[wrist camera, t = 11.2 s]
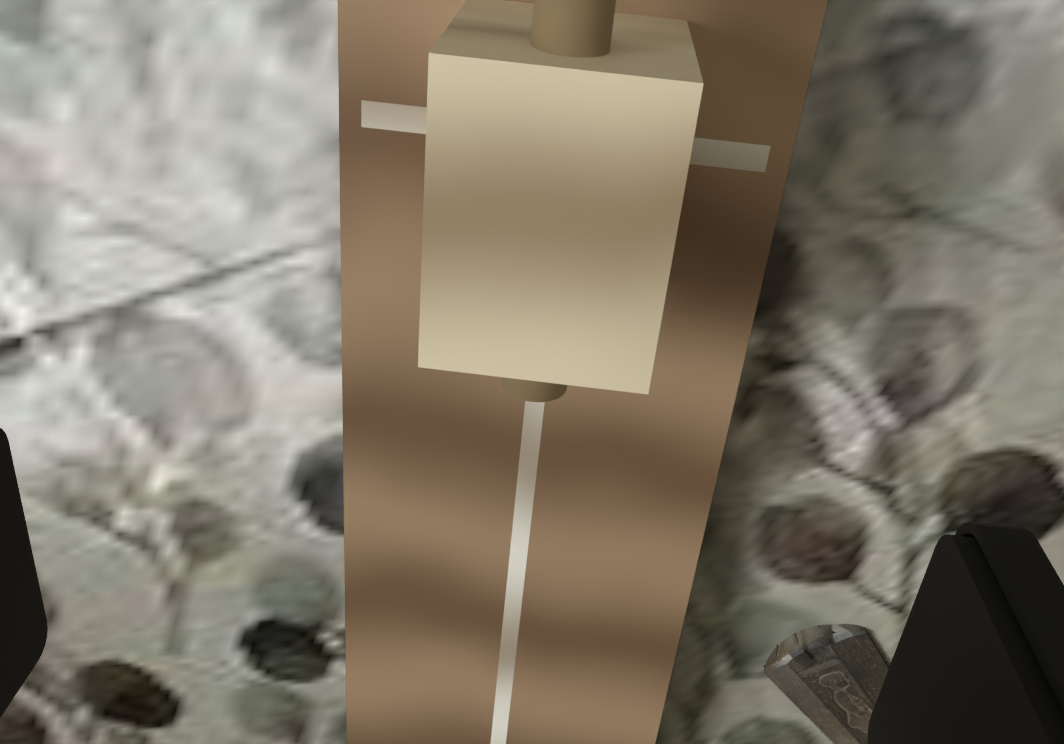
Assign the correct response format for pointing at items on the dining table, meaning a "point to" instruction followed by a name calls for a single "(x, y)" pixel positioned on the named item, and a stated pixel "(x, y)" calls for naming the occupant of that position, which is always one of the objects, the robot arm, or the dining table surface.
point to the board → (540, 416)
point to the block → (831, 678)
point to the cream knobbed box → (553, 192)
